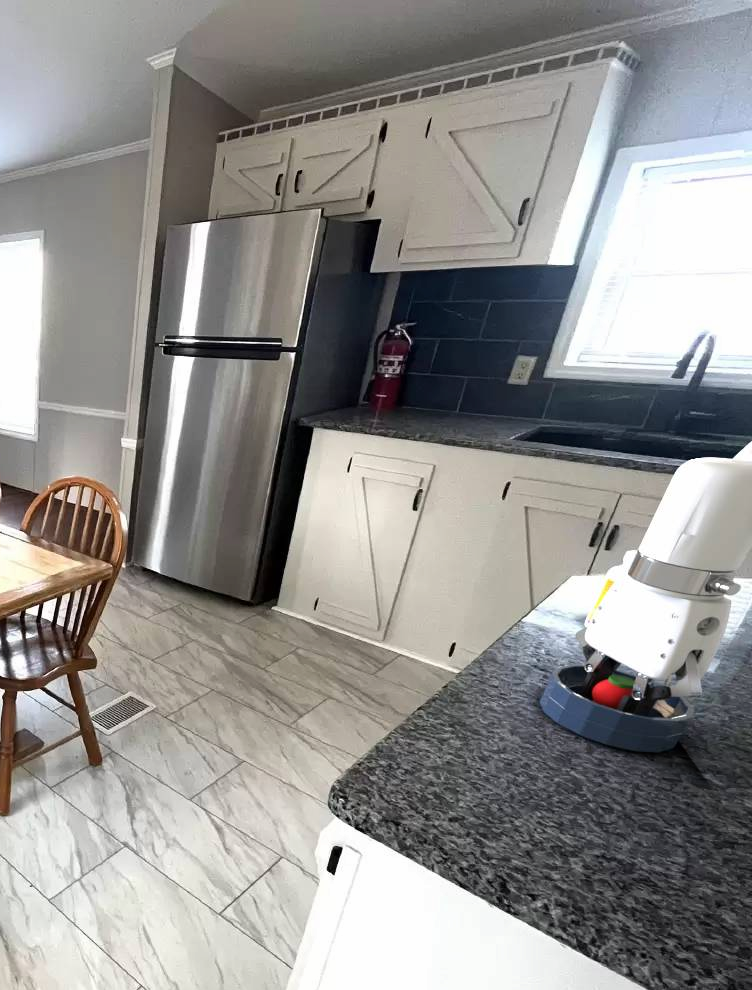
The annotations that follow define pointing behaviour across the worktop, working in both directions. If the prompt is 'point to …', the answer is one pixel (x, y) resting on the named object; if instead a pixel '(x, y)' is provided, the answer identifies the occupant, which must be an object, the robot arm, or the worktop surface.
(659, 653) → the robot arm
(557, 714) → the bowl
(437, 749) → the worktop surface
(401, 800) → the worktop surface
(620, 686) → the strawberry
